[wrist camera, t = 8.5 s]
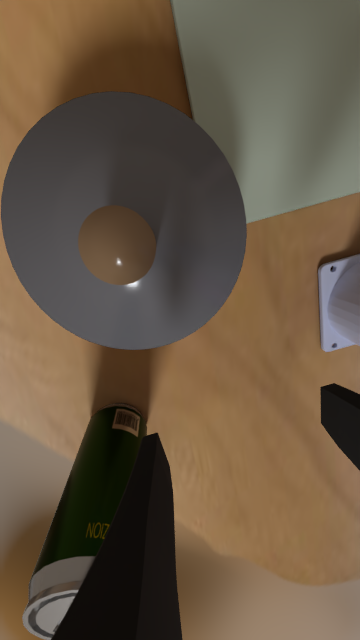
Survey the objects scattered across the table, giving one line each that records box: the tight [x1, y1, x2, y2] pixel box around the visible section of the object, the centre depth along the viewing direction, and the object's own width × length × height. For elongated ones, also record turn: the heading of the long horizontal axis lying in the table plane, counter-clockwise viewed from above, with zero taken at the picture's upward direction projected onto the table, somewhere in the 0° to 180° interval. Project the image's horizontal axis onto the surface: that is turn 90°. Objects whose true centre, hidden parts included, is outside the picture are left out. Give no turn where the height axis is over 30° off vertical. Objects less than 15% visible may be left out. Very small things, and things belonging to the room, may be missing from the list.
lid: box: [1, 91, 247, 350], centre depth 10 cm, size 12×12×5 cm
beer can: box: [23, 403, 147, 640], centre depth 16 cm, size 5×5×12 cm
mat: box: [170, 0, 360, 223], centre depth 14 cm, size 13×13×1 cm
